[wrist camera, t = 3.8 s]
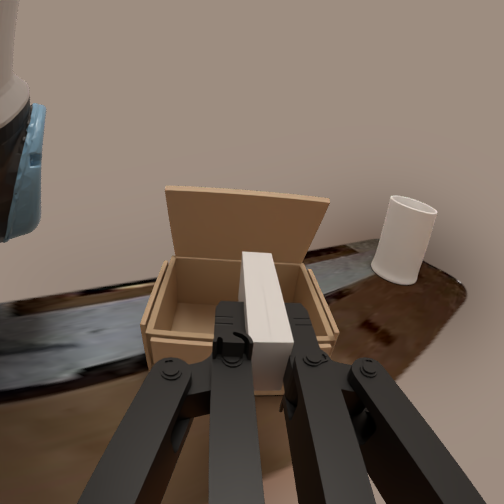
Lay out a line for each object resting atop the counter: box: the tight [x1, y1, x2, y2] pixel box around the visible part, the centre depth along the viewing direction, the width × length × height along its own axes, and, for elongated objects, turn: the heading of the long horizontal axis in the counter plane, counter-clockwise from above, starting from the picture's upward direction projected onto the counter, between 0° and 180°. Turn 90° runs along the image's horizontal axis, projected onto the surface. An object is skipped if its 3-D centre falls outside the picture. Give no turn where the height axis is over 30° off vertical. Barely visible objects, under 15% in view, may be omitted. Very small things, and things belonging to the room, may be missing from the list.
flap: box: [165, 186, 330, 264], centre depth 26 cm, size 13×1×10 cm, turn 93°
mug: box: [371, 196, 437, 285], centre depth 43 cm, size 12×8×12 cm
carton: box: [140, 256, 339, 395], centre depth 27 cm, size 15×13×6 cm
